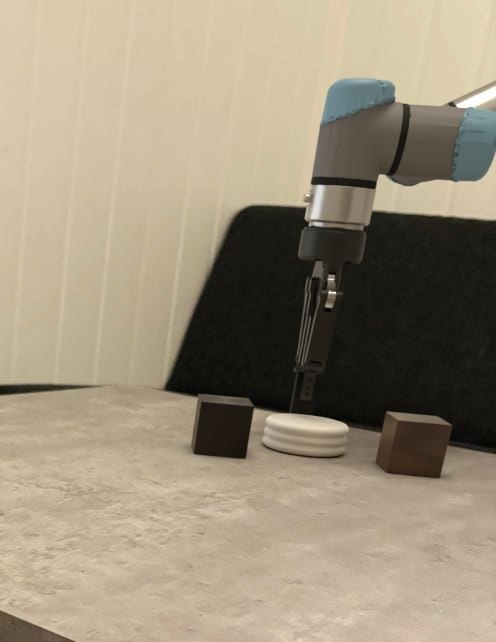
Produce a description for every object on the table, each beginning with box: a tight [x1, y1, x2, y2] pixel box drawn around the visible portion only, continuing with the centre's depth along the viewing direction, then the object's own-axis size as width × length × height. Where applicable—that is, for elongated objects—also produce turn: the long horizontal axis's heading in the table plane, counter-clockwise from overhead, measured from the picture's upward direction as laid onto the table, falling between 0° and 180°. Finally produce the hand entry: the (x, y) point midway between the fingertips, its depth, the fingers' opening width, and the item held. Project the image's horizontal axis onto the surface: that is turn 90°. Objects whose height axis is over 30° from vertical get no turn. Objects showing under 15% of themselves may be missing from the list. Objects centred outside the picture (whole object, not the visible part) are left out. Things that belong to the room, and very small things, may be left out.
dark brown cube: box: [191, 393, 255, 460], centre depth 119 cm, size 6×6×6 cm
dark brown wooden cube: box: [375, 411, 453, 479], centre depth 117 cm, size 6×6×6 cm
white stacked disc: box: [262, 413, 350, 458], centre depth 124 cm, size 10×10×4 cm
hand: (298, 424), depth 130 cm, fingers closed
